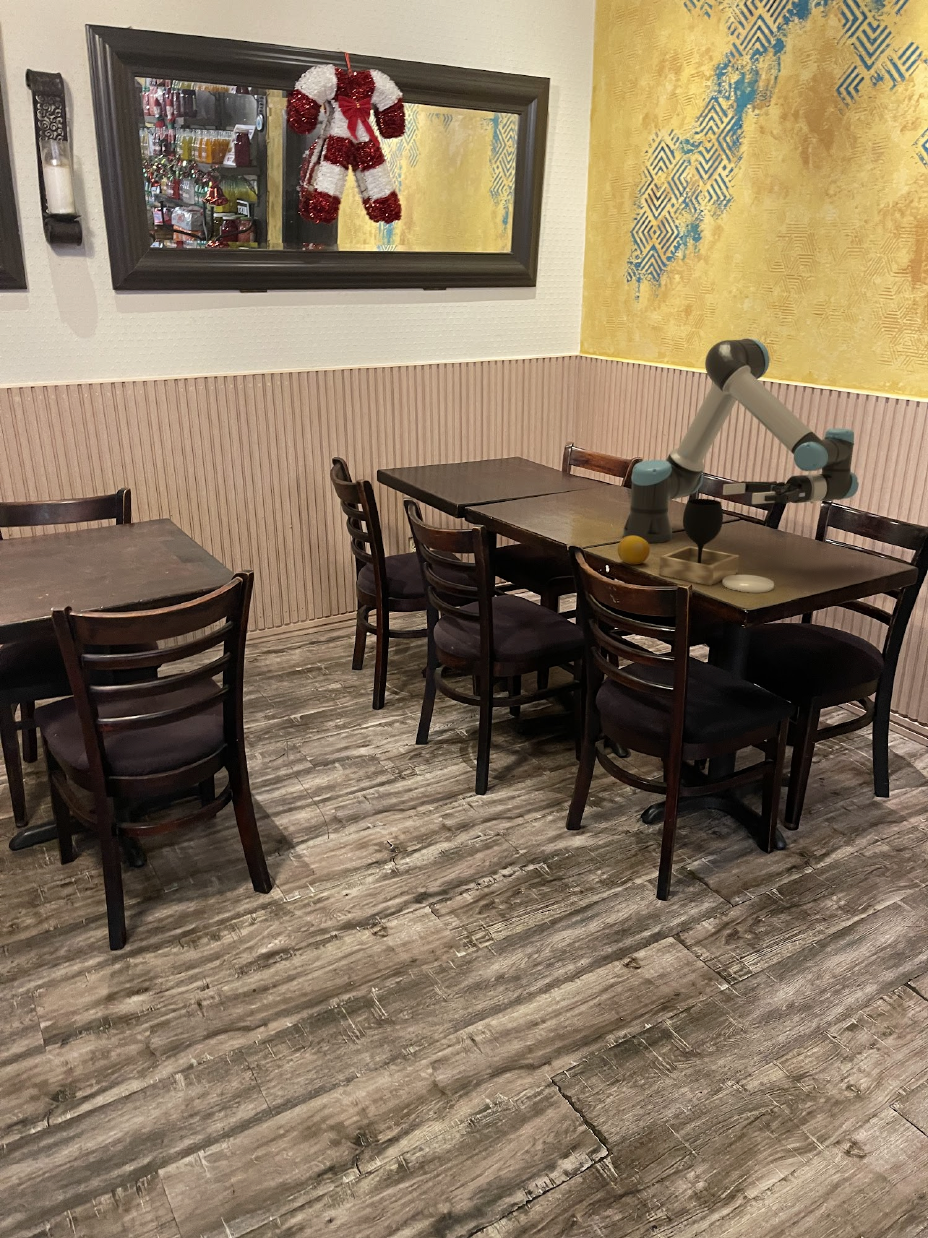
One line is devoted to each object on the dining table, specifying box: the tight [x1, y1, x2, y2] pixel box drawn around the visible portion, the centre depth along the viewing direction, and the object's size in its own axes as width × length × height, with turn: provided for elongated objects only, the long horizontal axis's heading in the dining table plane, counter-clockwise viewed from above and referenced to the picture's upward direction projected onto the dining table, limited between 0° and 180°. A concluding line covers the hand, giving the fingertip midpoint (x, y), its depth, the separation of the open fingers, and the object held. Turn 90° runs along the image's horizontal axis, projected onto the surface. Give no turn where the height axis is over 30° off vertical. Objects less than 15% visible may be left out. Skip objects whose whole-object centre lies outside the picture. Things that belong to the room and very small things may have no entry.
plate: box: [721, 574, 775, 594], centre depth 249 cm, size 13×13×1 cm
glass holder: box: [658, 545, 740, 586], centre depth 259 cm, size 15×15×5 cm
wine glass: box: [682, 498, 724, 564], centre depth 256 cm, size 10×10×20 cm
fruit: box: [617, 536, 651, 565], centre depth 268 cm, size 9×8×8 cm
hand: (737, 494), depth 255 cm, fingers open, 13 cm apart
